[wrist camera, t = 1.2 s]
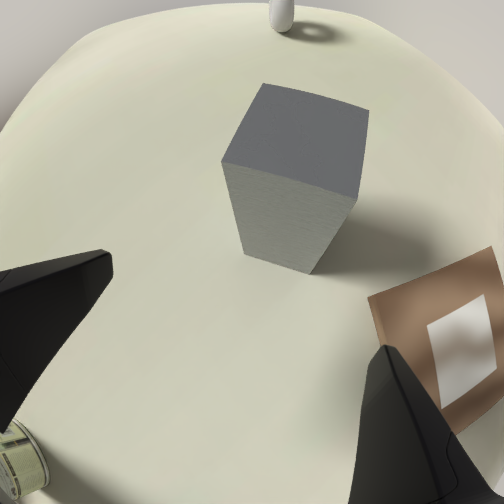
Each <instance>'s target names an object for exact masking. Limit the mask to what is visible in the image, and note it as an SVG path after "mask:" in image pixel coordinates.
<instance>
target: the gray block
mask: <svg viewBox="0 0 504 504" xmlns="http://www.w3.org/2000/svg"><path fill="white" fill-rule="evenodd" d="M368 118H369V110H366V109H363V108H360V107H357V106H354V105H351V104H348V103H345V102H342V101H338V100H335V99H331V98H328V97H324V96H320V95H317V94H313V93H309V92H304V91H300V90H296V89H291V88H286V87H281V86H276V85H271V84H265V83H263V84H262V86H261V88H260V89H259V91H258V93H257V95H256V96H255V98H254V100H253V102H252V103H251V105H250V107H249V109H248V111H247V113H246V114H245V116H244V118H243V120H242V122H241V124H240V126H239V127H238V129H237V131H236V133H235V135H234V137H233V139H232V141H231V143H230V145H229V147H228V149H227V151H226V153H225V155H224V157H223V159H222V161H221V163H222V167H223V171H224V175H225V179H226V183H227V187H228V191H229V195H230V199H231V203H232V207H233V211H234V215H235V219H236V223H237V227H238V231H239V235H240V239H241V243H242V247H243V251H244V254H246V255H249V256H252V257H255V258H258V259H261V260H265V261H268V262H271V263H274V264H277V265H280V266H284V267H287V268H290V269H293V270H296V271H300V272H303V273H306V274H310V273H311V271H312V270H313V268H314V267H315V265H316V264H317V262H318V261H319V259H320V258H321V256H322V255H323V253H324V252H325V250H326V249H327V247H328V246H329V244H330V242H331V241H332V239H333V238H334V236H335V235H336V233H337V232H338V230H339V228H340V227H341V225H342V224H343V222H344V220H345V219H346V217H347V216H348V214H349V212H350V211H351V209H352V208H353V206H354V204H355V203H356V201H357V198H358V192H359V186H360V180H361V174H362V167H363V160H364V153H365V145H366V137H367V128H368Z"/></svg>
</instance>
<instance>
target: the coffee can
mask: <svg viewBox="0 0 504 504" xmlns="http://www.w3.org/2000/svg"><path fill="white" fill-rule="evenodd" d="M49 481H50V475H49V470H48V466H47V464H46V461H45V459H44V456H43V454H42V453H41V451H40V449H39V447H38V445H37V443H36V442H35V440H34V439H33V437H32V436H31V434H30V433H29V432H28V431H27V429H26V428H25V427H24V426H23V425H22V424H21V423H19V422H18V421H17V420H15V419H14V418H13V419H12V421H11V423H10V424H9V426H8V428H7V430H6V431H5V433H4V434H2V433H1V432H0V487H1V488H2V489H3V490H4V491H5V492H6V494H7V495H8V496H9V497H10V498H11V499H12V500H16V499H18V498H20V497H23V496H25V495H27V494H29V493H31V492H34V491H36V490H38V489H40V488H42V487H46V486H47V485H48V484H49Z"/></svg>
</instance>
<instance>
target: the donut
mask: <svg viewBox="0 0 504 504" xmlns="http://www.w3.org/2000/svg"><path fill="white" fill-rule="evenodd" d="M269 14H270V23H271V26H272V28H273V29H274V30H275V31H277V32H286V31H288V30H289V29H291V27H292V25H293V20H294V0H269Z"/></svg>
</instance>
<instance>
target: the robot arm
mask: <svg viewBox="0 0 504 504" xmlns="http://www.w3.org/2000/svg"><path fill="white" fill-rule="evenodd" d="M112 278H113V263H112V255H111V253H109V252H107V251H105V250H102V249H99V250H94V251H89V252H84V253H80V254H75V255H70V256H66V257H61V258H57V259H52V260H48V261H43V262H39V263H34V264H30V265H26V266H22V267H17V268H13V269H9V270H5V271H1V272H0V432H1V433H2V434H4V433H5V431H6V430H7V428H8V426H9V424H10V423H11V421H12V419H13V418H14V416H15V414H16V413H17V411H18V409H19V408H20V406H21V405H22V403H23V401H24V400H25V398H26V397H27V395H28V393H29V392H30V390H31V389H32V387H33V386H34V384H35V383H36V382H37V380H38V379H39V377H40V376H41V374H42V373H43V371H44V370H45V369H46V367H47V366H48V364H49V363H50V362H51V360H52V359H53V358H54V356H55V355H56V354H57V352H58V351H59V350H60V348H61V347H62V346H63V344H64V343H65V342H66V340H67V339H68V338H69V336H70V335H71V334H72V333H73V331H74V330H75V329H76V328H77V326H78V325H79V324H80V323H81V321H82V320H83V319H84V318H85V316H86V315H87V314H88V313H89V311H90V310H91V309H92V307H93V306H94V304H95V303H96V301H97V300H98V298H99V297H100V295H101V294H102V293H103V291H104V290H105V288H106V287H107V285H108V284H109V283H110V281H111V280H112ZM0 504H16V503H15V502H14V501H13V500H12V499H11V498H10V497H9V496H8V495H7V494H6V492H5V491H4V490H3V489H2V488H1V487H0ZM348 504H504V497H502V496H500V495H498V494H496V493H495V492H494V491H493V490H492V489H491V488H490V487H489V485H488V484H487V482H486V481H485V479H484V478H483V477H482V475H481V474H480V472H479V471H478V469H477V468H476V466H475V465H474V464H473V462H472V461H471V459H470V458H469V456H468V455H467V453H466V452H465V450H464V449H463V447H462V445H461V444H460V442H459V441H458V439H457V437H456V436H455V434H454V432H453V431H451V428H450V426H449V425H448V423H447V421H446V420H445V418H444V417H443V415H442V414H441V412H440V410H439V409H438V407H437V406H436V404H435V403H434V401H433V400H432V398H431V397H430V395H429V394H428V392H427V391H426V389H425V388H424V386H423V385H422V384H421V382H420V381H419V379H418V378H417V376H416V375H415V373H414V372H413V371H412V369H411V368H410V366H409V365H408V364H407V362H406V361H405V359H404V358H403V357H402V355H401V354H400V352H399V351H398V350H397V348H396V347H394V346H390V345H386V344H384V345H382V346H381V347H380V348H379V350H378V351H377V353H376V354H375V356H374V357H373V358H372V360H371V361H370V363H369V366H368V370H367V377H366V384H365V390H364V396H363V401H362V407H361V415H360V426H359V437H358V446H357V454H356V461H355V468H354V474H353V480H352V486H351V491H350V497H349V502H348Z"/></svg>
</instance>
